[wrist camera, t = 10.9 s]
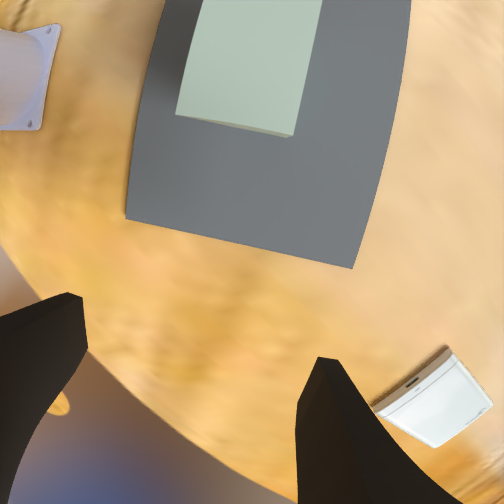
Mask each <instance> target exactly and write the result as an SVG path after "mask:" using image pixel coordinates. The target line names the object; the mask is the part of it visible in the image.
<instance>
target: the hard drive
mask: <svg viewBox="0 0 504 504" xmlns="http://www.w3.org/2000/svg"><path fill="white" fill-rule="evenodd" d="M492 405H493V401H492V399H491V398H490V396H489V395H488V394H487V393H486V391H485V390H484V389H483V387H482V386H481V385H480V384H479V382H478V381H477V380H476V379H475V377H474V376H473V375H472V374H471V372H470V371H469V370H468V369H467V368H466V366H465V365H464V364H463V363H462V362H461V360H460V359H459V358H458V357H457V356H456V355H455V353H454V352H453V351H452V350H451V349H450V348H448V349H446V350H445V351H444V352H443V353H442V354H441V355H440V356H438V357H437V358H436V359H435V360H434V361H433V362H431V363H430V364H429V365H428V366H427V367H425V368H424V369H423V370H422V371H420V372H419V373H418V374H417V375H415V376H414V377H413V378H412V379H410V380H409V381H408V382H406V383H405V384H404V385H403V386H401V387H400V388H398V389H397V390H396V391H394V392H393V393H392V394H390V395H389V396H387V397H386V398H385V399H383V400H382V401H380V402H379V403H377V404H376V405H374V406H373V410H374V413H375V414H377V415H378V416H380V417H382V418H383V419H385V420H387V421H388V422H390V423H392V424H393V425H395V426H396V427H398V428H400V429H401V430H403V431H404V432H406V433H408V434H409V435H411V436H413V437H414V438H416V439H418V440H420V441H421V442H423V443H425V444H426V445H428V446H430V447H432V448H437V447H439V446H441V445H442V444H444V443H445V442H447V441H448V440H449V439H451V438H452V437H454V436H455V435H456V434H458V433H459V432H461V431H462V430H463V429H465V428H466V427H467V426H469V425H470V424H471V423H472V422H474V421H475V420H476V419H478V418H479V417H480V416H481V415H482V414H484V413H485V412H486V411H487V410H489V409H490V408H491V407H492Z"/></svg>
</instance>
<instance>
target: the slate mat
mask: <svg viewBox="0 0 504 504" xmlns="http://www.w3.org/2000/svg"><path fill="white" fill-rule="evenodd" d="M202 3H203V0H166V3H165V6H164V9H163V13H162V16H161V19H160V23H159V26H158V30H157V33H156V37H155V41H154V44H153V48H152V52H151V56H150V60H149V65H148V69H147V73H146V78H145V83H144V87H143V92H142V97H141V102H140V108H139V113H138V119H137V125H136V131H135V138H134V144H133V152H132V159H131V167H130V176H129V185H128V195H127V207H126V219H129V220H133V221H138V222H142V223H147V224H152V225H156V226H161V227H165V228H170V229H174V230H179V231H183V232H188V233H193V234H197V235H202V236H206V237H211V238H215V239H220V240H224V241H229V242H233V243H238V244H242V245H247V246H251V247H256V248H260V249H265V250H269V251H274V252H278V253H283V254H287V255H292V256H296V257H301V258H305V259H309V260H314V261H318V262H323V263H327V264H332V265H336V266H340V267H345V268H349V269H353V266H354V263H355V260H356V257H357V254H358V251H359V248H360V245H361V241H362V238H363V235H364V232H365V229H366V225H367V222H368V219H369V215H370V212H371V209H372V205H373V202H374V198H375V195H376V191H377V187H378V184H379V180H380V176H381V172H382V168H383V164H384V160H385V156H386V152H387V148H388V144H389V139H390V135H391V130H392V126H393V121H394V116H395V111H396V106H397V101H398V96H399V90H400V85H401V79H402V73H403V67H404V60H405V53H406V46H407V38H408V30H409V21H410V10H411V0H322V5H321V10H320V14H319V19H318V24H317V29H316V33H315V38H314V43H313V47H312V52H311V57H310V61H309V66H308V71H307V75H306V80H305V84H304V89H303V93H302V98H301V102H300V107H299V111H298V116H297V120H296V125H295V129H294V133H293V136H291V137H288V138H284V137H279V136H275V135H270V134H265V133H261V132H256V131H251V130H246V129H240V128H235V127H230V126H226V125H221V124H217V123H213V122H208V121H204V120H199V119H195V118H190V117H185V116H180V115H175V113H176V108H177V103H178V98H179V93H180V88H181V84H182V79H183V75H184V71H185V66H186V62H187V58H188V54H189V50H190V46H191V42H192V39H193V35H194V31H195V28H196V24H197V20H198V17H199V14H200V10H201V7H202Z"/></svg>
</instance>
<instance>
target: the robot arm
mask: <svg viewBox="0 0 504 504" xmlns="http://www.w3.org/2000/svg"><path fill="white" fill-rule="evenodd" d="M50 30H51V31H50ZM49 32H50V33H49ZM60 32H61V25H59V24H52V25H48V26H43V27H39V28H36V29H32V30H28V31H25V32H21V33H18V32H13V31H9V30H4V29H0V130H31V131H34V130H39V129H40V127H41V124H42V117H43V110H44V104H45V97H46V92H47V86H48V81H49V76H50V71H51V67H52V62H53V58H54V54H55V50H56V46H57V42H58V39H59V35H60ZM31 121H32V125H31ZM87 349H88V343H87V336H86V328H85V319H84V309H83V298H82V297H80V296H77V295H74V294H71V293H69V292H66V293H63V294H59V295H56V296H53V297H51V298H48V299H45V300H43V301H40V302H38V303H35V304H32V305H30V306H27V307H25V308H22V309H19V310H17V311H14V312H12V313H9V314H6V315H4V316H1V317H0V504H7V503H8V499H9V495H10V491H11V487H12V484H13V481H14V478H15V474H16V472H17V469H18V466H19V464H20V461H21V458H22V456H23V454H24V451H25V449H26V447H27V445H28V443H29V441H30V439H31V436H32V435H33V432H34V430H35V429H36V427H37V425H38V424H39V422H40V420H41V419H42V417H43V416H44V414H45V413H46V411H47V410H48V409H49V407H50V406H51V404H52V403H53V402H54V400H55V399H56V398H57V396H58V395H59V393H60V392H61V391H62V389H63V388H64V386H65V385H66V384H67V382H68V381H69V380H70V378H71V377H72V375H73V374H74V373H75V371H76V369H77V367H78V366H79V364H80V362H81V360H82V358H83V357H84V355H85V353H86V351H87ZM295 440H296V462H297V484H298V504H463V503H461V502H460V501H458V500H457V499H456V498H454V497H453V496H452V495H450V494H449V493H448V492H446V491H445V490H444V489H443V488H441V487H440V486H439V485H438V484H437V483H436V482H434V481H433V480H432V479H431V478H430V477H429V476H427V475H426V474H425V473H424V472H423V471H422V470H421V469H420V468H419V467H418V466H417V465H416V464H415V463H414V462H413V461H412V460H411V458H410V457H409V456H408V455H407V454H406V453H405V452H404V451H403V450H402V449H401V448H400V446H399V445H398V444H397V443H396V442H395V441H394V439H393V438H392V437H391V435H390V434H389V433H388V432H387V430H386V429H385V428H384V427H383V425H382V424H381V423H380V421H379V420H378V419H377V417H376V416H375V414H374V413H373V412H372V410H371V409H370V407H369V406H368V404H367V403H366V402H365V400H364V399H363V397H362V396H361V394H360V393H359V391H358V390H357V388H356V386H355V385H354V383H353V382H352V380H351V379H350V377H349V376H348V374H347V373H346V371H345V369H344V368H343V366H342V365H341V363H340V362H339V361H338V360H336V359H329V358H323V357H318V358H317V360H316V363H315V365H314V367H313V370H312V372H311V374H310V376H309V379H308V381H307V383H306V385H305V387H304V390H303V392H302V394H301V396H300V398H299V400H298V403H297V414H296V427H295Z"/></svg>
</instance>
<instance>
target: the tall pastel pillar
mask: <svg viewBox="0 0 504 504" xmlns="http://www.w3.org/2000/svg"><path fill="white" fill-rule="evenodd" d="M321 5H322V0H203V3H202V7H201V10H200V14H199V17H198V20H197V24H196V28H195V31H194V35H193V39H192V42H191V46H190V50H189V54H188V58H187V62H186V66H185V71H184V75H183V79H182V84H181V88H180V93H179V98H178V103H177V108H176V113H175V115H180V116H185V117H190V118H195V119H199V120H204V121H208V122H213V123H217V124H221V125H226V126H230V127H235V128H240V129H246V130H251V131H256V132H261V133H265V134H270V135H275V136H279V137H284V138H288V137H291V136H293V133H294V129H295V125H296V120H297V116H298V111H299V107H300V102H301V98H302V93H303V89H304V84H305V80H306V75H307V71H308V66H309V61H310V57H311V52H312V47H313V43H314V38H315V33H316V29H317V24H318V19H319V14H320V10H321Z"/></svg>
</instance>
